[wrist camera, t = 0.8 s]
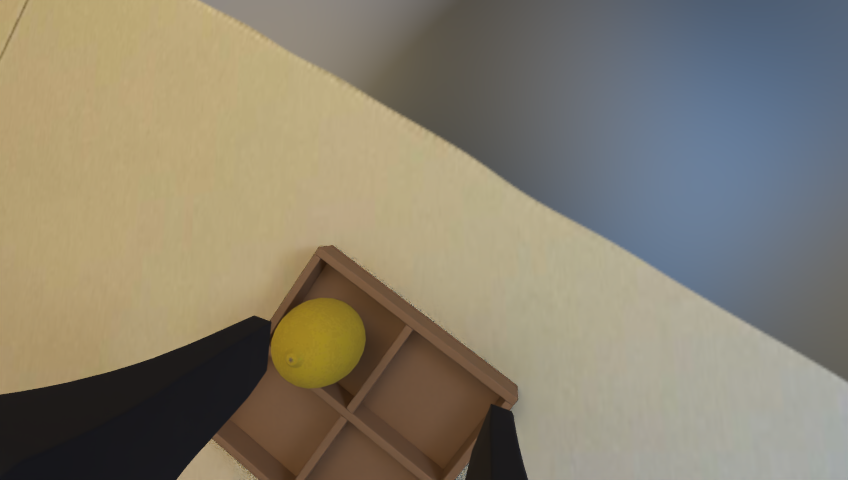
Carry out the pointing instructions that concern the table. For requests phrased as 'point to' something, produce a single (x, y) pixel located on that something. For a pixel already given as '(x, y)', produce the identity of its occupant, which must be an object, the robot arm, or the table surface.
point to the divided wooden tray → (368, 394)
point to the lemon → (318, 343)
